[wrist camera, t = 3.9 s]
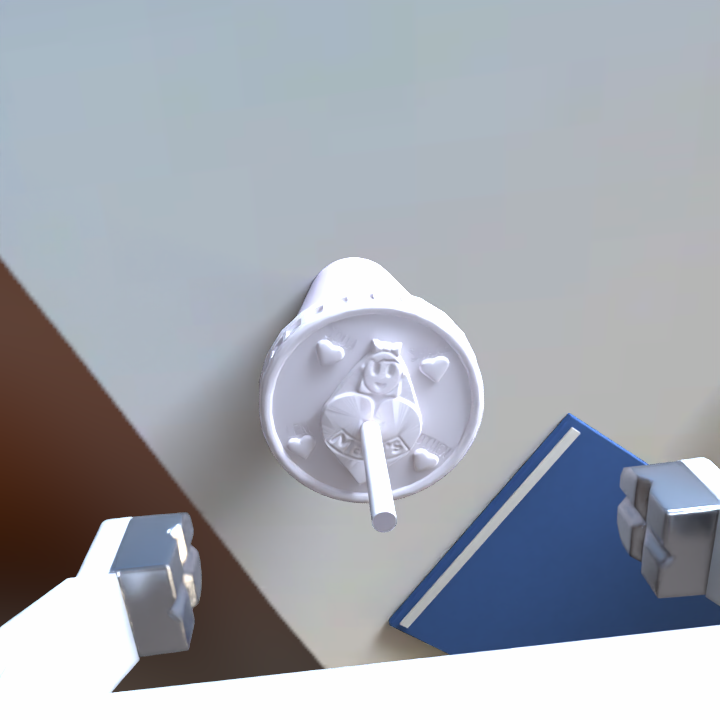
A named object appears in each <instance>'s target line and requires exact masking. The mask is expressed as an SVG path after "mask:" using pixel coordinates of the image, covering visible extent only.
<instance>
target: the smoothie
mask: <svg viewBox="0 0 720 720" xmlns="http://www.w3.org/2000/svg"><path fill="white" fill-rule="evenodd" d="M483 408H484V388H483V381H482V377H481V373H480V370H479V367H478V364H477V361H476V357H475V355H474V353H473V351H472V349H471V347H470V345H469V343H468V341H467V339H466V337H465V335H464V333H463V332H462V331H461V330H460V329H459V328H458V327H457V326H456V324H455V323H454V322H453V321H452V320H451V319H450V318H449V317H448V316H447V315H446V314H445V313H444V312H442V311H441V310H439V309H437V308H436V307H434V306H432V305H431V304H429V303H427V302H426V301H424V300H423V299H421V298H418V297H415V296H411V295H410V294H409V293H408V292H407V291H406V290H405V289H404V288H403V287H402V286H401V285H400V284H399V283H398V282H397V281H396V280H395V279H394V278H393V277H392V276H391V275H390V274H389V273H388V272H387V271H386V270H385V269H384V268H383V267H381V266H380V265H378V264H377V263H375V262H373V261H370V260H367V259H363V258H345V259H341V260H338V261H335V262H333V263H331V264H330V265H328V266H327V267H325V268H324V269H323V270H322V271H321V272H320V273H319V274H318V275H317V277H316V278H315V280H314V281H313V283H312V285H311V287H310V290H309V292H308V294H307V296H306V298H305V300H304V302H303V304H302V307H301V309H300V311H299V313H298V315H297V317H296V318H295V319H293V320H292V321H291V322H290V323H289V324H288V325H287V326H286V327H285V328H284V329H283V330H282V331H281V332H280V334H279V335H278V337H277V339H276V340H275V342H274V343H273V345H272V347H271V348H270V350H269V351H268V353H267V355H266V358H265V362H264V365H263V369H262V372H261V376H260V380H259V416H260V423H261V427H262V431H263V435H264V437H265V440H266V442H267V444H268V446H269V448H270V450H271V452H272V454H273V455H274V457H275V458H276V460H277V461H278V462H279V463H280V465H281V466H282V467H283V468H284V469H285V470H286V471H287V472H288V473H289V474H290V475H291V476H292V477H293V478H295V479H296V480H297V481H298V482H300V483H301V484H303V485H304V486H306V487H308V488H309V489H311V490H313V491H315V492H317V493H320V494H322V495H324V496H327V497H330V498H333V499H337V500H342V501H347V502H354V503H369V504H370V512H371V520H372V526H373V527H374V529H375V530H377V531H379V532H388V531H391V530H392V529H393V528H394V527H395V526H396V524H397V519H396V513H395V508H394V503H393V500H397V499H401V498H405V497H407V496H410V495H413V494H416V493H418V492H420V491H422V490H424V489H426V488H428V487H430V486H431V485H433V484H435V483H436V482H438V481H439V480H440V479H442V478H443V477H444V476H446V475H447V474H448V473H449V472H450V471H451V470H452V469H453V468H454V467H455V466H456V465H457V464H458V463H459V462H460V461H461V460H462V458H463V457H464V456H465V454H466V453H467V451H468V450H469V448H470V447H471V445H472V443H473V441H474V439H475V437H476V435H477V433H478V430H479V427H480V424H481V420H482V415H483Z"/></svg>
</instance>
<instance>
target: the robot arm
mask: <svg viewBox="0 0 720 720" xmlns="http://www.w3.org/2000/svg"><path fill="white" fill-rule="evenodd" d="M619 487H620V488H621V489H622V491H623V492H624V494H625V495H626V497H625V498H624V500H623V501H622V502H621V503H620V504H619V506H618V511H617V525H618V531H619V536H620V539H621V541H622V544H623V546H624V548H625V550H626V551H627V553H628V554H629V556H630V557H632V558H634V559H636V560H638V561H640V562H642V565H641V574H642V575H643V577H644V578H645V580H646V581H647V583H648V584H649V586H650V587H651V589H652V590H653V592H654V593H655V595H656V596H657V598H670V597H682V596H695V595H706V596H705V597H707V598H708V599H710V600H711V601H713V602H714V603H716V604H717V605H719V606H720V470H719V469H718V468H717V467H716V466H715V465H714V464H713V463H712V462H711V461H710V460H709V459H706V458H703V457H700V458H693V459H686V460H679V461H675V462H667V463H658V464H650V465H642V466H633V467H625V468H623V471H622V473H621V477H620V486H619ZM193 532H194V530H193V526H192V522H191V517H190V516H189V514H188V513H187V512H186V513H172V514H160V515H148V516H136V517H125V518H116V519H107V520H105V521H104V522H102V524H101V525H100V527H99V530H98V532H97V534H96V536H95V538H94V540H93V542H92V544H91V547H90V549H89V551H88V553H87V555H86V557H85V559H84V561H83V563H82V565H81V568H80V570H79V572H78V574H77V576H76V577H75V578H67V579H66V580H65V581H63V582H62V583H61V584H59V585H58V586H57V587H55V588H54V589H52V590H51V591H50V592H48V593H47V594H46V595H44V596H43V597H41V598H40V599H39V600H37V601H36V602H34V603H33V604H32V605H30V606H29V607H27V608H26V609H25V610H23V611H22V612H21V613H19V614H18V615H16V616H15V617H14V618H12V619H11V620H10V621H8V622H7V623H6V624H4V625H3V626H2V627H0V720H720V625H715V626H706V627H697V628H688V629H679V630H670V631H661V632H653V633H644V634H635V635H626V636H617V637H608V638H599V639H590V640H581V641H572V642H563V643H554V644H545V645H537V646H528V647H519V648H510V649H501V650H492V651H483V652H474V653H465V654H456V655H447V656H438V657H429V658H420V659H411V660H402V661H393V662H384V663H375V664H366V665H357V666H349V667H340V668H331V669H322V670H313V671H304V672H295V673H286V674H277V675H269V676H259V677H250V678H241V679H233V680H223V681H214V682H205V683H196V684H188V685H178V686H170V687H161V688H151V689H142V690H134V691H125V692H116V693H111V692H112V691H113V689H114V688H115V687H116V686H117V685H118V684H119V683H120V682H121V680H122V679H123V678H124V677H125V676H126V675H127V673H128V672H129V671H130V670H131V669H132V668H133V667H134V665H135V664H136V663H137V662H138V661H139V657H143V656H150V655H157V654H164V653H172V652H179V651H186V650H189V645H190V640H191V636H192V632H193V627H194V623H195V620H194V616H193V611H192V609H193V608H194V607H195V606H196V605H197V604H198V603H199V598H200V593H201V576H202V574H201V564H200V559H199V553H198V550H196V549H195V548H194V547H193V546H191V541H192V537H193Z"/></svg>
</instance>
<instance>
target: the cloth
mask: <svg viewBox="0 0 720 720" xmlns="http://www.w3.org/2000/svg"><path fill="white" fill-rule="evenodd" d="M642 465H649V464H647V463H646V462H644V461H642V460H641V459H639V458H638V457H636V456H635V455H633V454H632V453H630V452H629V451H627V450H625V449H624V448H622V447H621V446H619V445H618V444H616V443H615V442H613V441H612V440H610V439H609V438H607V437H605V436H604V435H602V434H601V433H599V432H598V431H596V430H595V429H593V428H592V427H590V426H589V425H587V424H585V423H584V422H582V421H581V420H579V419H578V418H576V417H575V416H573V415H572V414H570V413H568V414H567V415H566V417H565V418H564V419H563V420H562V421H561V422H560V424H559V425H558V426H557V427H556V428H555V429H554V430H553V432H552V433H551V434H550V435H549V436H548V437H547V438H546V440H545V441H544V442H543V443H542V444H541V445H540V447H539V448H538V449H537V450H536V451H535V452H534V453H533V455H532V456H531V457H530V458H529V459H528V460H527V461H526V463H525V464H524V465H523V466H522V467H521V468H520V469H519V471H518V472H517V473H516V474H515V475H514V476H513V478H512V479H511V480H510V481H509V482H508V483H507V484H506V486H505V487H504V488H503V489H502V490H501V491H500V492H499V494H498V495H497V496H496V497H495V498H494V499H493V501H492V502H491V503H490V504H489V505H488V506H487V507H486V509H485V510H484V511H483V512H482V513H481V514H480V515H479V517H478V518H477V519H476V520H475V521H474V522H473V524H472V525H471V526H470V527H469V528H468V529H467V530H466V532H465V533H464V534H463V535H462V536H461V537H460V538H459V540H458V541H457V542H456V543H455V544H454V545H453V547H452V548H451V549H450V550H449V551H448V552H447V553H446V555H445V556H444V557H443V558H442V559H441V560H440V561H439V563H438V564H437V565H436V566H435V567H434V568H433V569H432V571H431V572H430V573H429V574H428V575H427V576H426V578H425V579H424V580H423V581H422V582H421V583H420V584H419V586H418V587H417V588H416V589H415V590H414V591H413V592H412V594H411V595H410V596H409V597H408V598H407V599H406V601H405V602H404V603H403V604H402V605H401V606H400V607H399V609H398V610H397V611H396V612H395V613H394V614H393V615H392V617H391V618H390V619H389V625H390V626H392V627H394V628H396V629H398V630H400V631H403V632H405V633H407V634H409V635H411V636H413V637H415V638H417V639H419V640H421V641H423V642H425V643H427V644H429V645H431V646H433V647H435V648H437V649H440V650H442V651H444V652H446V653H448V654H450V655H456V654H465V653H474V652H483V651H492V650H501V649H510V648H519V647H528V646H537V645H545V644H554V643H563V642H572V641H581V640H590V639H599V638H608V637H617V636H626V635H635V634H644V633H653V632H661V631H670V630H679V629H688V628H697V627H706V626H715V625H720V606H719V605H717V604H716V603H714V602H713V601H711V600H710V599H708V598H707V597H705V596H706V595H695V596H682V597H670V598H657V596H656V595H655V593H654V592H653V590H652V589H651V587H650V586H649V584H648V583H647V581H646V580H645V578H644V577H643V575H642V574H641V565H642V562H640V561H638V560H636V559H634V558H632V557H630V556H629V554H628V553H627V551H626V550H625V548H624V546H623V544H622V541H621V539H620V536H619V531H618V525H617V511H618V506H619V504H620V503H621V502H622V501H623V500H624V498H625V497H626V495H625V494H624V492H623V491H622V489H621V488H620V487H619V486H620V477H621V473H622V471H623V468H625V467H633V466H642Z"/></svg>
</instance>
